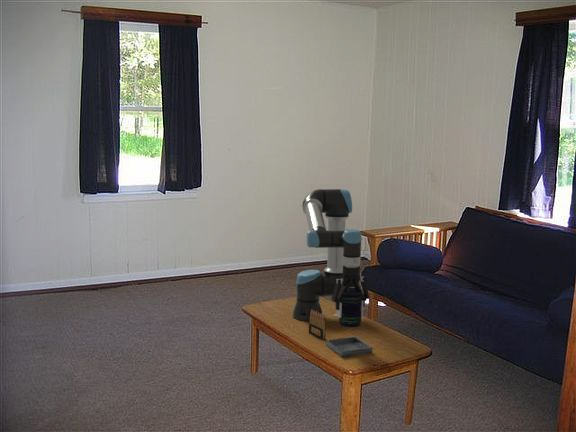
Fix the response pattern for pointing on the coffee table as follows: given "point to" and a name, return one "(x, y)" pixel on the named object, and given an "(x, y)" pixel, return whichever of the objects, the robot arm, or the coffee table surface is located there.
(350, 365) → the coffee table surface
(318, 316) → the ammunition clip
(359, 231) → the robot arm
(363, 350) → the cradle tray
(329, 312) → the coffee table surface
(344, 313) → the storage jar
